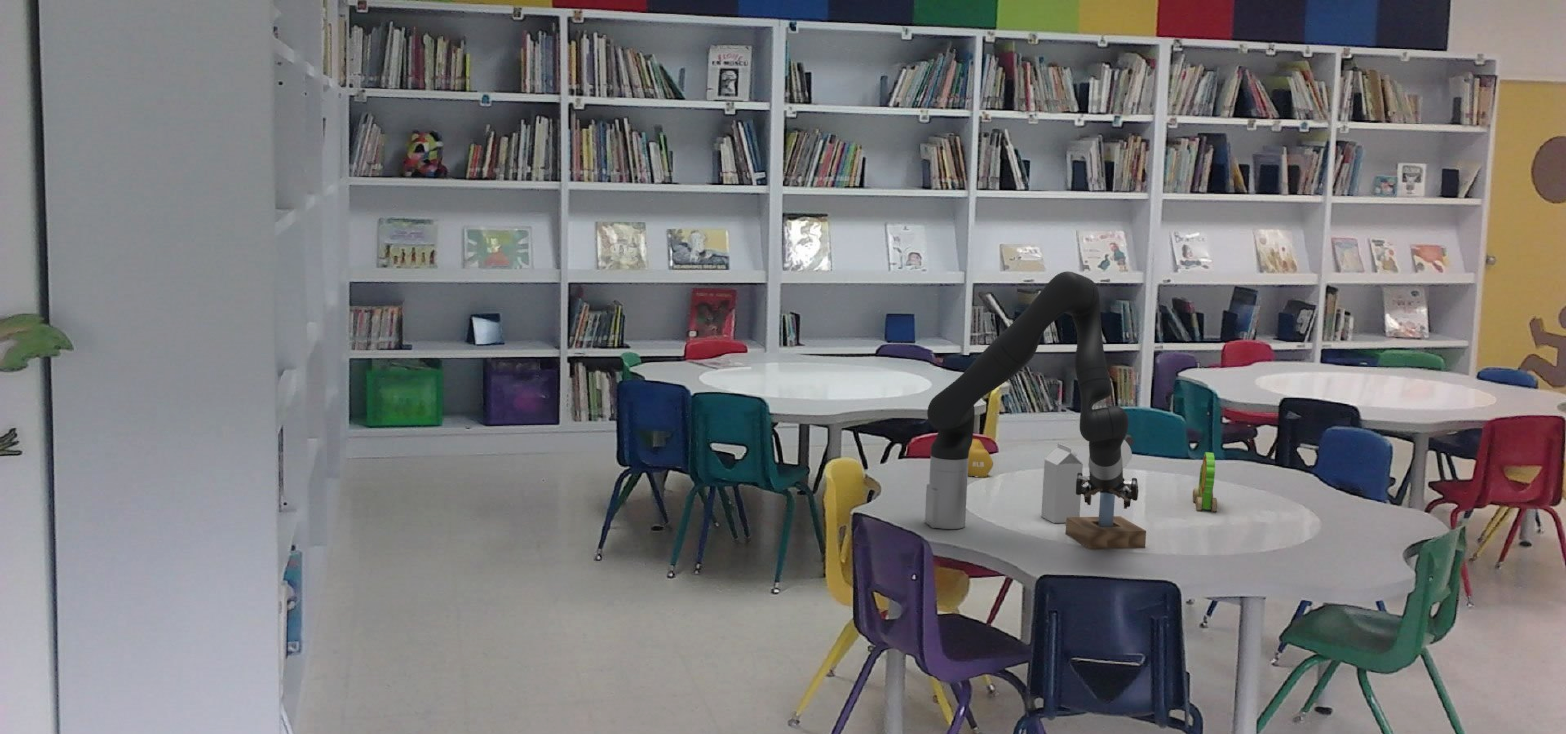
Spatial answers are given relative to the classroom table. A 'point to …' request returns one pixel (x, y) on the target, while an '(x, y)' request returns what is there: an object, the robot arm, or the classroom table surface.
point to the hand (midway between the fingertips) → (1107, 503)
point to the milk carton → (1061, 485)
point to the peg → (1106, 510)
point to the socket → (1105, 533)
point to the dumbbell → (979, 460)
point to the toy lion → (1206, 485)
